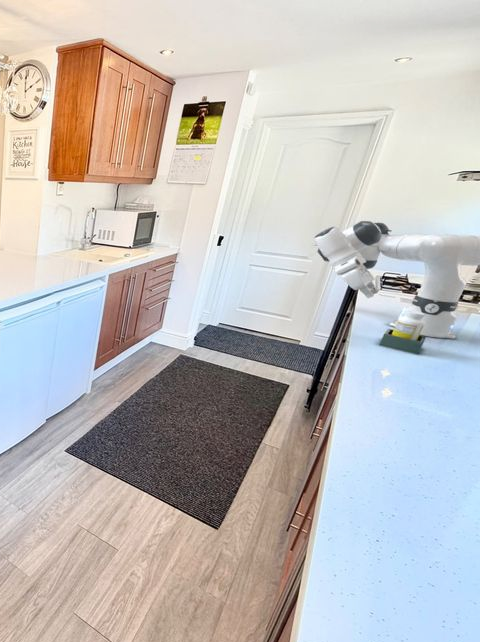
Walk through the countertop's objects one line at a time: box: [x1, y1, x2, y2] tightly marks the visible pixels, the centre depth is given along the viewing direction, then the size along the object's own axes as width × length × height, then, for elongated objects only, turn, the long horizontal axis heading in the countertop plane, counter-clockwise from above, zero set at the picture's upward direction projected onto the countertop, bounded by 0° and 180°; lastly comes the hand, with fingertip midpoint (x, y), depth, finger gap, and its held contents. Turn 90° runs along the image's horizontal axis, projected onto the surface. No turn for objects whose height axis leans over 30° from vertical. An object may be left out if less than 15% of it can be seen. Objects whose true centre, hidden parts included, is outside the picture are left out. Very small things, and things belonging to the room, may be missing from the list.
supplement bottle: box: [392, 310, 425, 341], centre depth 146 cm, size 7×7×13 cm
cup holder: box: [378, 328, 427, 355], centre depth 148 cm, size 10×10×4 cm
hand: (373, 295), depth 151 cm, fingers open, 8 cm apart
